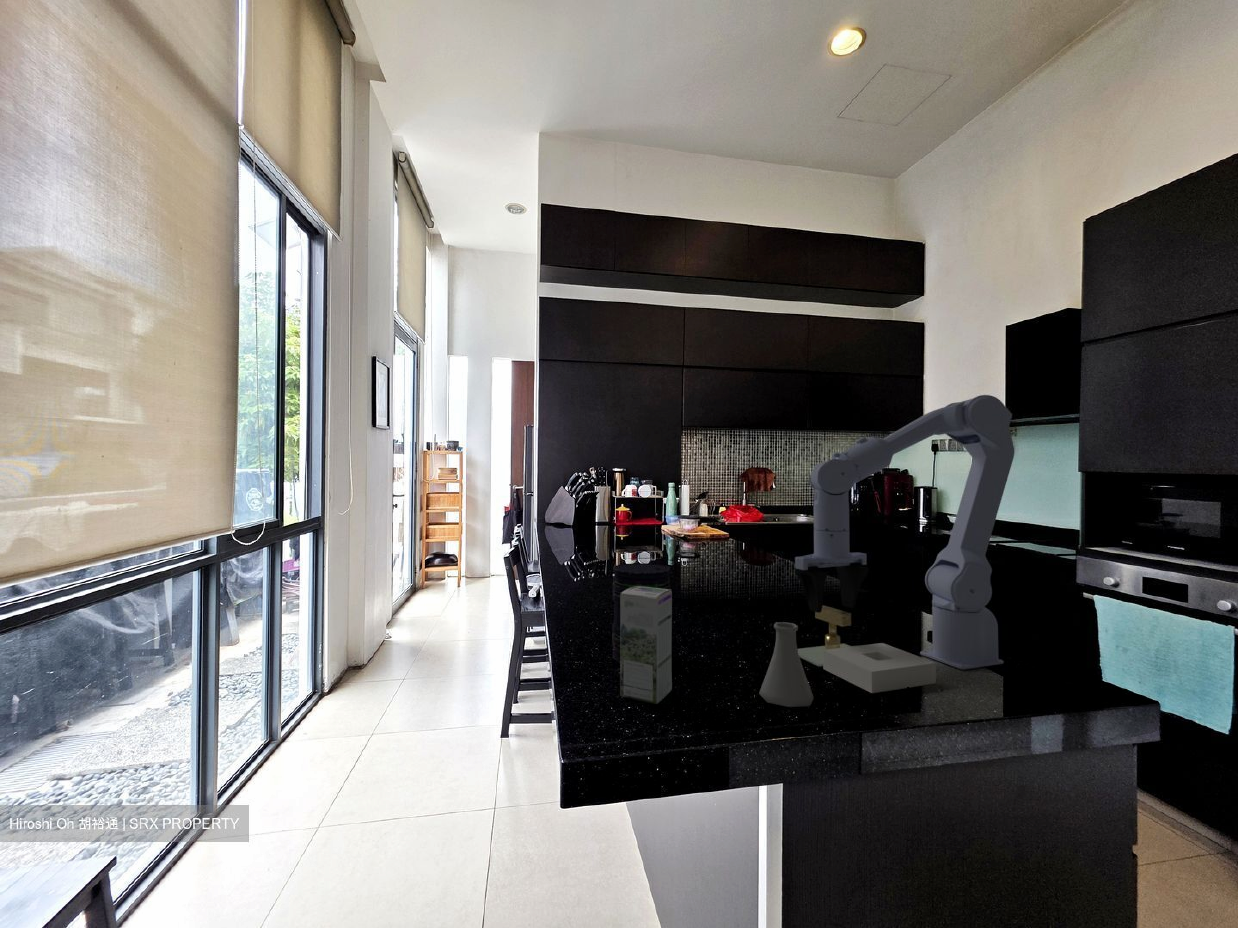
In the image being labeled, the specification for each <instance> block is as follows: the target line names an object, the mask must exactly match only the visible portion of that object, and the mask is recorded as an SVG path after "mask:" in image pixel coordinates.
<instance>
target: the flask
mask: <svg viewBox="0 0 1238 928" xmlns="http://www.w3.org/2000/svg"><path fill="white" fill-rule="evenodd" d="M773 628H774V629H775V644H774V647H773V648H774V649H773V653H772V657H771V659H770V662H769V666H768V669H767V671H766V673H765V674H766V675H765V677H764V679H763V682H762V684H761V686H760V687H761V688H760V690H759V693H758V694H759V696H761V697H762V698H763V699H764V701H765V702H766V703H768V704H774V705H779V706H783V707H787V708H794V707H795V708H796V707H798V708H799V707H811V704H812V703H813V701H814V695H813V693H812V692H813V691H812V688H811V687H810V684H809V681H808V679H807V676H806V672H805V670H804V666H803V664H802V660H801V658H800V657H799V654H798V649H799V648H798V645H797V631H798V630H799V626H798V625H797V624H795V623H792V622H786V621H785V622H784V621H783V622H780V621H779V622H777V621H776V622H775V623H774V624H773Z"/></svg>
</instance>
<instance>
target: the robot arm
mask: <svg viewBox="0 0 1238 928" xmlns="http://www.w3.org/2000/svg"><path fill="white" fill-rule="evenodd" d="M1012 418H1013V414H1012V413H1011V411H1010V410H1009V409H1008V407H1006V406H1005V404H1004V403H1003V401H1002V400H1001V399H999V398H998V397H996V396H993V395H990V394H982V395H977V396H975V397H973V398H969V399H966V400H962V401H958V402H952V403H949V404H947V405H946V406H944V407H941V408H937V409H934V410H931V411H928V412H926V414H923V415H922V416H920V417H919V418H917V419H915V420H913V421H911V422H910V423H908V424H906V425H905V426H903V427H900V428H899V429H898V430H896V431H894V432H892V433H890V434H889V435H887V436H885V437H884V438H878V437H875V436H870V437H868V438H866V437H861V438H859V439H856V440H855V443H856V444H855V445H853V446H851V447H849V448H848V449H846V450H844V451H842V452H838V451H836V452H834V453H832V454H831V457H832V459H829V460H825V461H821V462H819V463H817V464H816V465H814V466H813V468H812V470H811V473H810V476H808V481H809V484H810V487H812V489H813V553H811V554H807V555H802V556H795V557H794V562H795V563H794V565H795V566H794V573H795V575H796V577H797V578H798V581H799V582H800V585H801V586H802V588H803V590H804V591H803V592H804V594H805V597H806V601H807V606H808V609H809V611H812V612H814V613H815V612H817V613H819V612H821V611H822V605H823V599H824V588H825V584H826V580H827V578H828V573H827V572H823V571H821V569H822V568H832V567H833V568H834V567H835V569H836V573H837V575H838V580H839V586H840V599H841V604H842V607H845V608H846V607H847V608H849V609H854V608H855V606H856V603H857V599H858V595H859V592H860V588H861V587H862V584H863V582H864V580H865V579H866V577H867V575H868V574H869V567H868V566H866V565H867V564H868V563H867V553H864V552H858V551H857V552H851V551H850V503H849V501H850V500H849V491H850V490H851V489H852V487H853V486H854V484H856V483H859V482H861V481H863V480H864V479H866V478H868V477H870V476H872V475H874V474H876V473H878V472H879V471H881V470H884V469H886V468H887V467H889V466H890V465H891V463H892V460H893V456H894V455H895V454H897V453H899V452H901V451H903V450H906V449H907V448H909V447H912V446H915V445H916V444H918V443H920V442H922V441H924V440H926V439H928V438H930V437H932V436H934V435H936V436H941V435H946V436H948V437H949V438H950V439H951V440H953V441H955V442H956V443H958V444H959V445H960V446H962V447H963V448H964V449H965V450H966V452H967V453H968V454H969V455H970V456H971V458H972V461H971V465H970V468H969V471H968V476H967V478H966V482H965V486H964V489H963V493H962V497H961V499H960V502H959V505H958V506H959V507H958V510H957V513H956V516H955V519H954V524H953V527H952V530H951V533H950V537H949V541H948V544H947V545H946V547H944V548H943V549H942V550H941V551H940V552H939V553H938V554H937V556H936V559H935V561H934V563H933V564H932V565H931V566H930V567H929V568H928V570H927V571H926V573H925V576H924V583H925V586H926V589H927V590H928V592H929V593H930V594H932V600H931V605H932V607H931V610H932V611H931V614H932V617H931V618H932V621H931V622H932V624H931V625H932V649H929V650H928V649H927V650H921V651H920V652H919V655H921V656H924V657H927V658H930V659H932V660H935V661H938V662H940V663H942V664H946V665H949V666H951V667H954V668H956V669H959V670H970V669H977V668H982V667H990V666H996V665H1002V664H1004V662H1005V661H1004V660H1002V659H999V625H998V621H997V618H996V616H995V615H994V613H993V612H992V611H991V610H990V609H988V608H987V607H986V606H987V605H988V604H989V602H990V600H991V599H992V595H993V588H992V583H991V575H992V572H993V568H992V566H991V564H990V563H989V561H988V559H987V557H986V553H987V550H988V548H989V547H988V546H989V543H990V539H991V536H992V532H993V530H994V527H995V523H996V520H997V517H998V512H999V510H1000V505H1001V503H1002V500H1003V499H1002V498H1003V496H1004V492H1005V490H1006V489H1005V488H1006V484H1007V481H1008V479H1009V476H1010V475H1009V474H1010V472H1011V468H1012V465H1013V461H1014V457H1015V447H1014V442H1013V437H1012V433H1011V432H1012V431H1011V428H1010V424H1011V421H1012ZM864 565H865V566H864Z"/></svg>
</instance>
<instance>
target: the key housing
mask: <svg viewBox="0 0 1238 928" xmlns="http://www.w3.org/2000/svg"><path fill="white" fill-rule="evenodd" d="M822 667H823V670H825V671H827V672H829V673H831V674H833V675H835V676H837V677H839V678H840V679H843V680H845V681H847V682H848V683H850V684H853V685H854V686H856V687H859V688H860V689H863V690H865V691H867V692H869V693H870V694H875V693H876V694H877V693H882V692H889V691H895V690H901V689H908V688H907V687H909V688H914V687H915V688H916V687H921V686H926V685H934V684H936V683H937V664H936V662H934V661H932V660H929V659H926V658H924V657H921V656H918V655H916V654H912V653H911V652H908V651H905V650H902V649H900V648H897V647H894V646H891V645H889V644H887V643H884V642H878V643H871V644H862V645H853V646H851V647H844V648H835V649H827V650H823V666H822Z"/></svg>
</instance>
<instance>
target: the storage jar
mask: <svg viewBox="0 0 1238 928" xmlns="http://www.w3.org/2000/svg"><path fill="white" fill-rule="evenodd" d="M670 571H671V569H670V567H669V566H667V565H663V564H657V563H643V562H640V563H639V562H635V563H633V562H630V563H622V564H617V565H614V566H613V569H612V572H613V575H612V576H613V577H612V578H613V580H612V581H613V582H612V595H611V596H612V600H613V603H614V607H613V608H614V609H613V610H614V611H613V613H614V617H613V619H614V620H613V623H612V627H611V630H612V634H611V641H612V648H613V651H612V659H614V660H615V661H616V662H617V663H620V595H621V593H622V592H623V591H625V590H626V589H628V588H631V587H634V586H642V587H651V588H661V589H670V590H671V583H670V579H671V576H670V574H671V573H670Z"/></svg>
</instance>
